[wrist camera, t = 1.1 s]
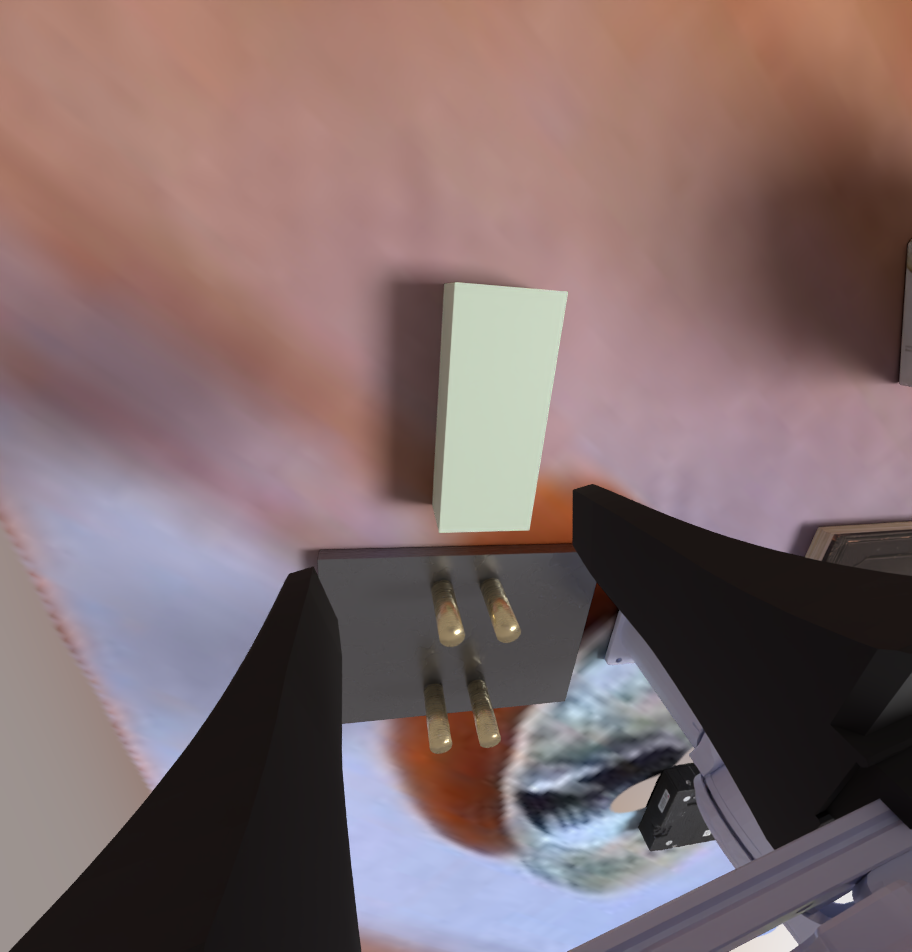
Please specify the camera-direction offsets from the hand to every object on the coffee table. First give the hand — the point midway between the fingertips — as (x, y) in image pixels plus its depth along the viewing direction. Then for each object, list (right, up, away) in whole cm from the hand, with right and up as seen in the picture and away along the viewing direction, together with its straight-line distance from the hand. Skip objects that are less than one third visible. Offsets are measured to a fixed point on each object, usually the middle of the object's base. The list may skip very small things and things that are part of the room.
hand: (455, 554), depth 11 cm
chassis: (0, -9, +18) cm, 20 cm away
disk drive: (+27, -32, +34) cm, 54 cm away
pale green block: (+1, +6, +12) cm, 13 cm away
